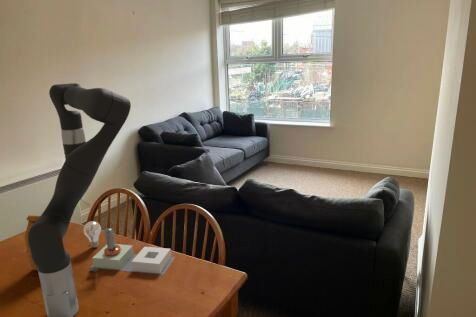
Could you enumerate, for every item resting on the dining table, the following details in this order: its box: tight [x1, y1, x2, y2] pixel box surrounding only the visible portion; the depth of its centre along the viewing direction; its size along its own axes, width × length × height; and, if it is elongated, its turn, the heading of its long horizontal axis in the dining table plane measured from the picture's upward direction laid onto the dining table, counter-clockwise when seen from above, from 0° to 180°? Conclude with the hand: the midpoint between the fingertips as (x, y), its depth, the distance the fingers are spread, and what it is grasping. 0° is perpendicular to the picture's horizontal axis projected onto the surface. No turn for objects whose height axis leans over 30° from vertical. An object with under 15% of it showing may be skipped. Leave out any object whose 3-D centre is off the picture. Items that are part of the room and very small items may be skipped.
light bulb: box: [83, 220, 102, 249], centre depth 156 cm, size 7×7×12 cm
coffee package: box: [24, 215, 66, 272], centre depth 140 cm, size 10×12×22 cm
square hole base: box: [89, 243, 176, 276], centre depth 142 cm, size 30×12×6 cm, turn 78°
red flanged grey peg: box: [103, 227, 121, 256], centre depth 141 cm, size 6×6×14 cm
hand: (80, 183), depth 135 cm, fingers open, 8 cm apart
